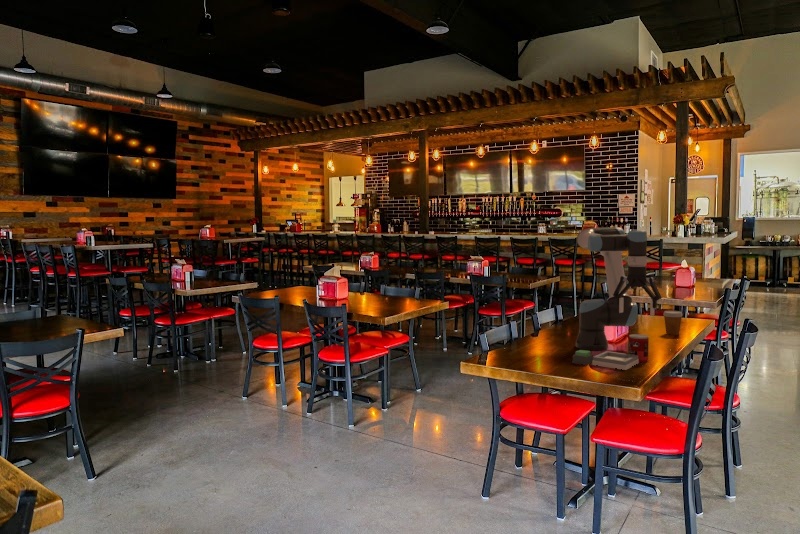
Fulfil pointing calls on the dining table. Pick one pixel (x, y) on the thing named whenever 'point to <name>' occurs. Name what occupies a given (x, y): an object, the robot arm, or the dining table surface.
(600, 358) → the pocket plate
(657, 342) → the dining table surface
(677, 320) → the disposable coffee cup
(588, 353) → the button
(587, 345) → the robot arm
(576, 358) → the button base
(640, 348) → the canned food
